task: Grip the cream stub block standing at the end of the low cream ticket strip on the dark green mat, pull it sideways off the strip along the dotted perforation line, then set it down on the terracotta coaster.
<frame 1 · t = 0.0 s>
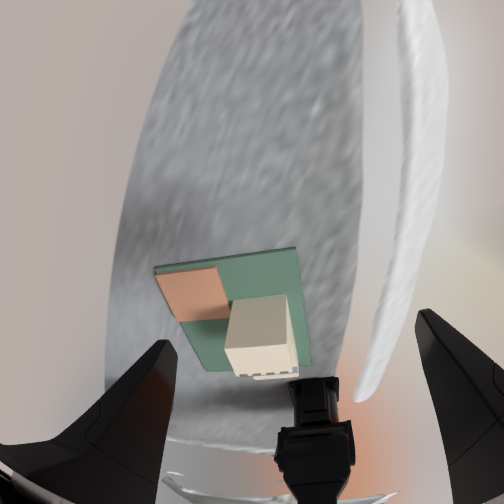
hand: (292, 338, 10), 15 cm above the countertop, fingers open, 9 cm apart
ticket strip: (272, 347, 31), resting on mat
coaster: (195, 294, 28), resting on mat
stub: (263, 312, 28), resting on mat
mat: (242, 322, 30), on the countertop
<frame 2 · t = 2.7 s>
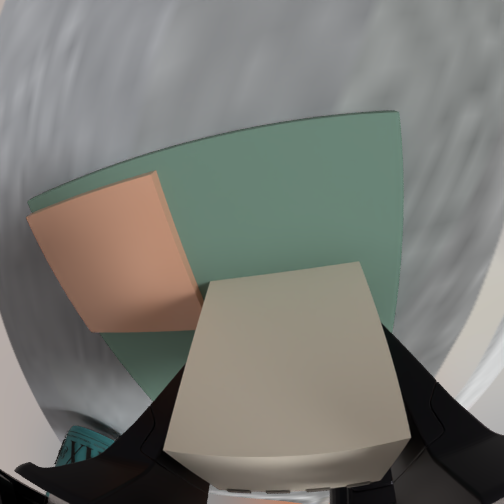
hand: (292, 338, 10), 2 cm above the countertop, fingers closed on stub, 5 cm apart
beverage bottle: (104, 427, 22), on the countertop
coaster: (114, 267, 10), resting on mat
stub: (291, 315, 11), resting on mat, touching gripper
mat: (235, 338, 12), on the countertop
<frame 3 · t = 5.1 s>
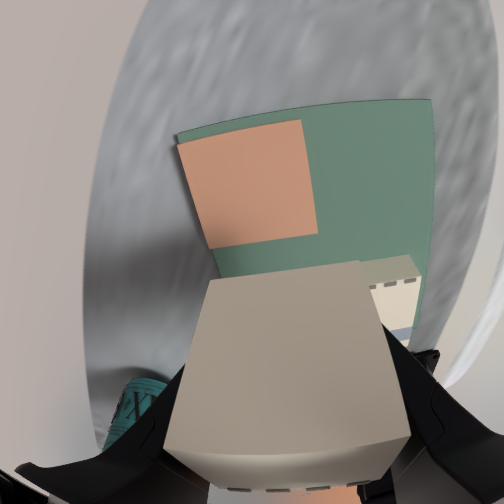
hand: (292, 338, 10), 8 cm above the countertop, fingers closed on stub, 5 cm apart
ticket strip: (369, 298, 18), resting on mat
beverage bottle: (161, 381, 26), on the countertop
coaster: (250, 186, 15), resting on mat
stub: (291, 314, 11), point 7 cm above the countertop, touching gripper
mat: (327, 248, 17), on the countertop
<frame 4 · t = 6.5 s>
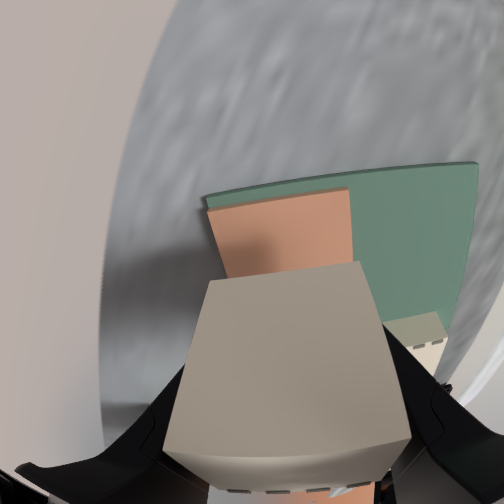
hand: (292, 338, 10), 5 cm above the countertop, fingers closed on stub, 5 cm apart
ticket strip: (393, 349, 17), resting on mat
coaster: (287, 255, 14), resting on mat
stub: (291, 315, 11), point 4 cm above the countertop, touching gripper
mat: (359, 309, 16), on the countertop
when the fingers open (3 cm above the countertop, at t = 7.7 s): stub drops 1 cm, resting on coaster.
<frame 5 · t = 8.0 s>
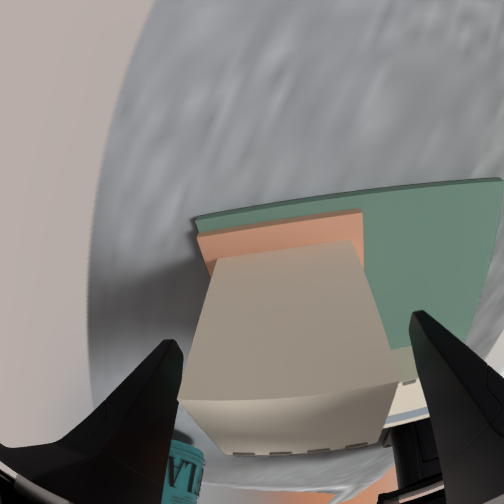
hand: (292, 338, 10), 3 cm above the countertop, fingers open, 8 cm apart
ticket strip: (401, 375, 15), resting on mat
beverage bottle: (175, 433, 24), on the countertop
coaster: (290, 285, 12), resting on mat
stub: (291, 290, 12), point 1 cm above the countertop, touching coaster
mat: (367, 337, 14), on the countertop
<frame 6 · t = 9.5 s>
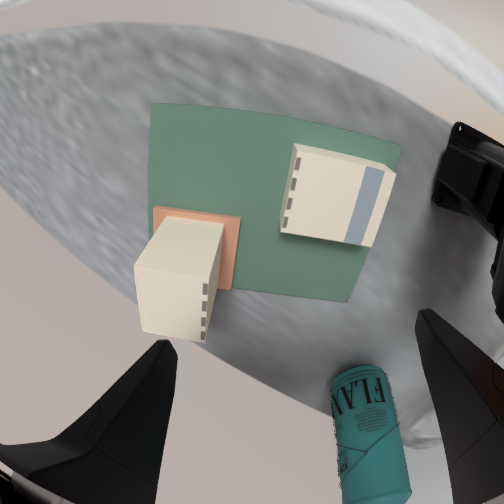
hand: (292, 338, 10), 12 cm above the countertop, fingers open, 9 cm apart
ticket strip: (331, 189, 18), resting on mat
beverage bottle: (355, 370, 29), on the countertop
coaster: (194, 248, 21), resting on mat
stub: (193, 251, 21), point 1 cm above the countertop, touching coaster
mat: (264, 211, 20), on the countertop
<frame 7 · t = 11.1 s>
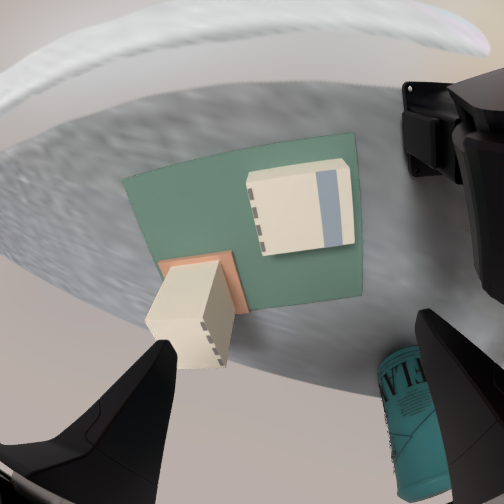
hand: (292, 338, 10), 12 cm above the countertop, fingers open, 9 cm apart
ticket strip: (301, 200, 19), resting on mat
beverage bottle: (400, 352, 28), on the countertop
coaster: (205, 286, 24), resting on mat
stub: (204, 289, 23), point 1 cm above the countertop, touching coaster
mat: (250, 238, 22), on the countertop
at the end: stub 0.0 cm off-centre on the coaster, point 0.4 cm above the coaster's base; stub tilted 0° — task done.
